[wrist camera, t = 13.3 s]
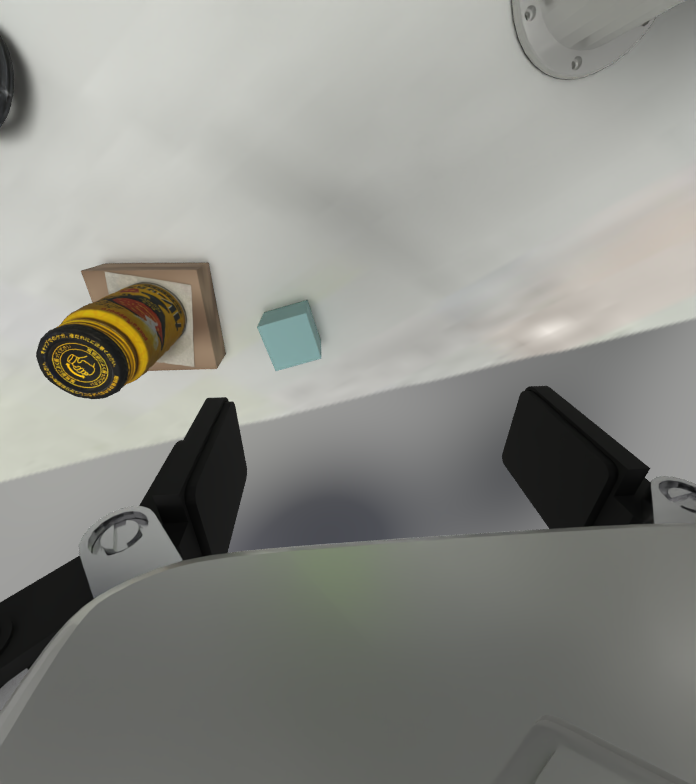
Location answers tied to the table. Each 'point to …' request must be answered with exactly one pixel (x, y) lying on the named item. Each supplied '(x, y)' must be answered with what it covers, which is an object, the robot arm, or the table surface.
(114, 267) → the block
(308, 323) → the teal cube
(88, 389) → the condiment
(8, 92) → the milk frother
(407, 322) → the table surface
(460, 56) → the table surface
